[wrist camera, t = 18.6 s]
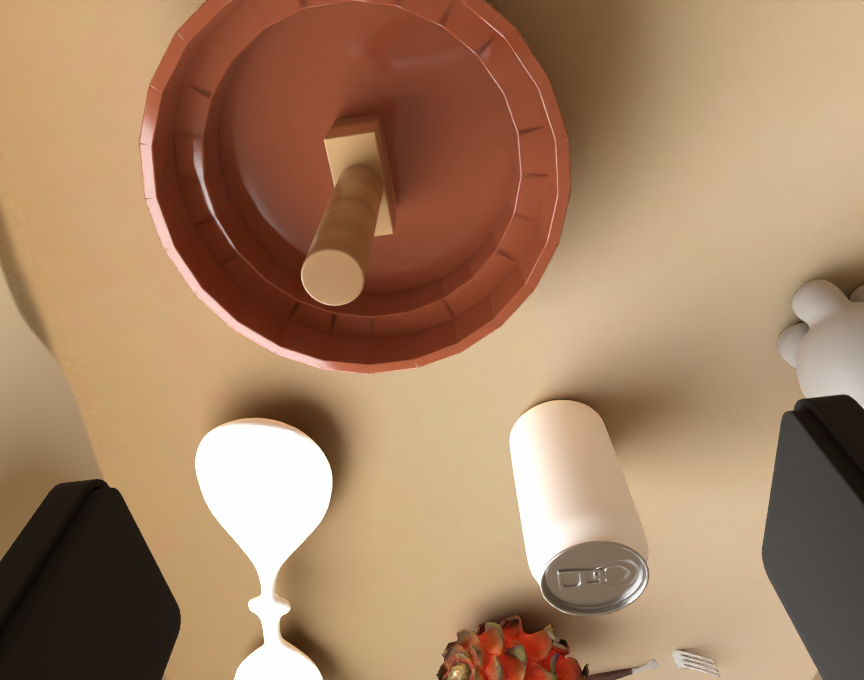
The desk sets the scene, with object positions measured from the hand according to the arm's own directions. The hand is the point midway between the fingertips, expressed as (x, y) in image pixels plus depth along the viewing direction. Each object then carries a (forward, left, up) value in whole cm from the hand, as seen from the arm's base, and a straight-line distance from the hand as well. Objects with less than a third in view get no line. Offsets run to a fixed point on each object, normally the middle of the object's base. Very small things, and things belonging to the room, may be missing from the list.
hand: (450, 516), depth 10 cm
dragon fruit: (+42, 0, -28) cm, 51 cm away
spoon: (+32, -17, -28) cm, 46 cm away
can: (+22, +5, -28) cm, 36 cm away
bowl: (+2, -4, -28) cm, 29 cm away
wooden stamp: (+2, -4, -28) cm, 28 cm away
